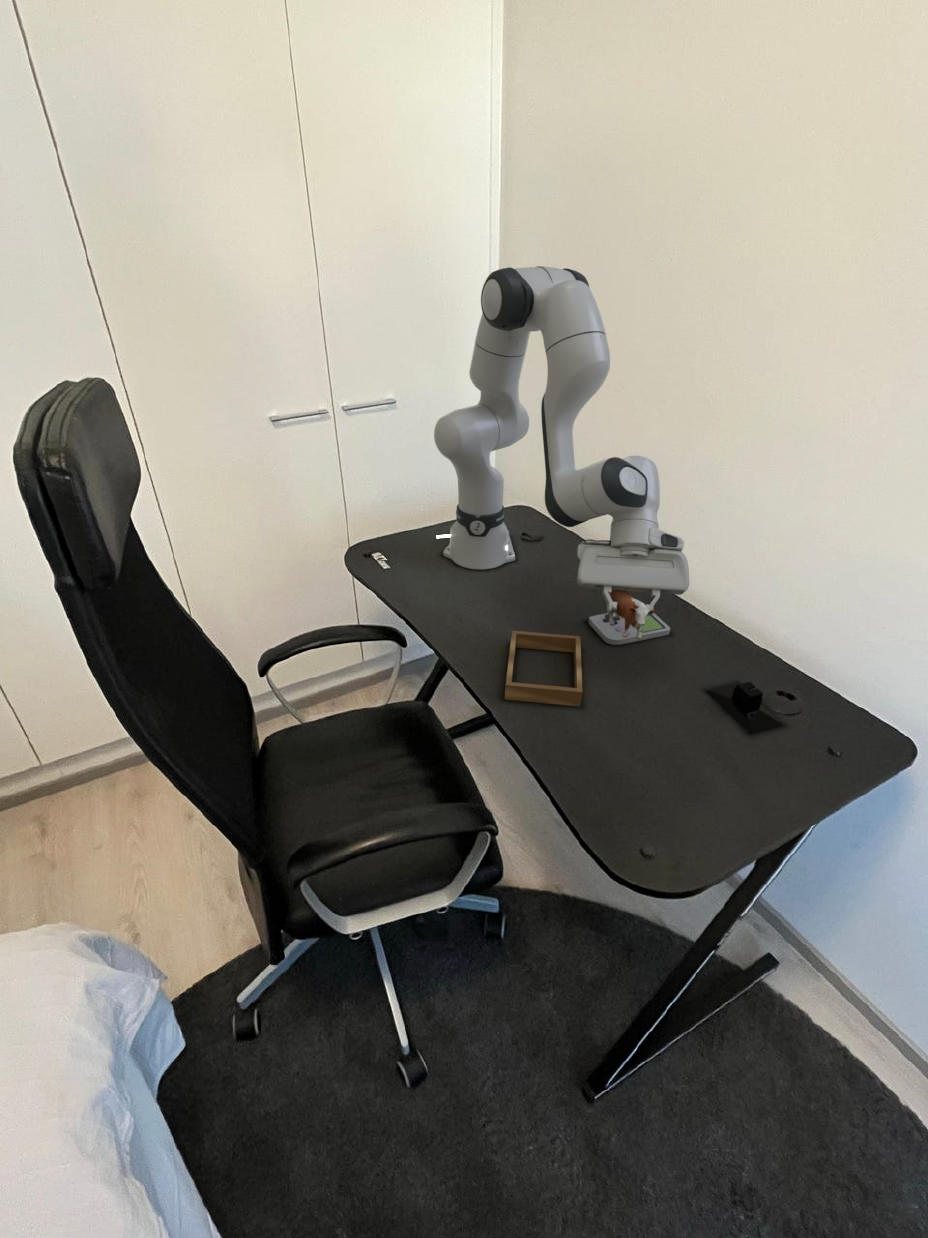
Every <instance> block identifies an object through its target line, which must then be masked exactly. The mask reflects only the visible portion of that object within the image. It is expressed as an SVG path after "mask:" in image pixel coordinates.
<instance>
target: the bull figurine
mask: <svg viewBox="0 0 928 1238" xmlns="http://www.w3.org/2000/svg"><path fill="white" fill-rule="evenodd" d="M610 597H611V599H612V601H613V602H617V606H616V607H617V611H616V613H615V615H616V619H620V617H621V618H624V619H625V630H624V631H623V632H622V633H623V637H625V638H627V637H628V633H627V631H628V629H629V627H630V625H632V627H633V628H637V634H636V636H637V639H642V636H641V632H640V631H641V626H644V625H645V620H646V617H647V615H648V614H652V613H655V612H656V610H655V609H653V610H648V609H647V608H646V606H645V603H644V602H642V601H641V600H638V599H637V598H635V597H634V596H633V595H631V594H630V593H629V591H623V590H612V591H611V593H610ZM606 613H608V604H607V603H606ZM608 614H610V619H609V625H611V626H614V625H615V624H614V620H613V613H608Z"/></svg>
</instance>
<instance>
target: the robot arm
mask: <svg viewBox="0 0 928 1238" xmlns="http://www.w3.org/2000/svg"><path fill="white" fill-rule="evenodd" d="M480 306H481V307H480V308H481V312H482V314H481V317H480V319H479V323H478V326H477V331H476V335H475V340H474V344H473V350H472V355H471V360H470V367H469V371H468V373H469V374H468V375H469V379H470V381H471V383H472V384H473V385H474V387H475V388H476V389H477V390H479V391H480V398H479V401H478V403H477V404H475V405H471V406H465V407H462V408H457V409H454V410H453V411H450V412H449V413H447V414H445V415H443V416H442V417H440V418H439V419H438V420H437V421H436V423H435V425H434V429H433V439H434V443H435V446H436V448H437V450H438V451H439V453H440V454H441V456H443V457H444V458H446V459H447V460H449V461H450V463H451V464H452V466H453V467H454V470H455V473H456V478H457V493H458V495H457V496H458V497H457V499H458V501H457V502H458V504H457V505H456V510H455V515H456V521H455V522H454V523H453V524H452V525H451V526H450V534H440V535H436V539H444V538H449V544H448V545H447V546H446V547H445V548H444V550H443V551H442V556H444V557H445V558H448V559H450V560H451V561H453V563H455V564H456V565H457V566H460V567H462V568H466V569H471V570H489V569H495V568H498V567H500V566H502V565H504V564H506V563H510V562H514V561H516V555H515V551H514V548H513V544H512V539H511V536H510V533H509V530H508V527H507V525H506V522H505V506H504V505H503V504H504V485H505V484H504V483H505V480H504V476H503V475H502V473H501V471H499V470H498V469H497V468H496V467H494V466H492V464H491V460H490V455H491V453H492V452H494V451H498V450H502V449H505V448H508V447H510V446H513V445H514V444H516V443H518V442H519V441H521V440H522V439H524V438H525V437H526V435H527V434H528V432H529V428H530V417H529V413H528V411H527V409H526V407H525V406H524V404H522V403H521V400H520V393H519V391H520V390H519V389H520V388H519V387H520V380H521V375H522V371H523V365H524V360H525V357H526V352H527V349H528V345H529V339H530V335H531V332H539V331H540V332H541V335H542V339H543V346H544V351H545V355H546V357H545V358H546V363H547V364H546V365H547V379H546V386H545V392H544V393H543V396H542V398H541V405H540V406H541V407H540V409H541V410H540V412H541V415H540V416H541V429H542V444H543V454H544V455H543V457H544V468H545V485H544V486H545V487H544V505H545V508H546V511H547V513H548V514H549V516H550V517H551V518H552V519H553V520H554V521H555V522H556V523H558V524H560V526H563V527H566V528H574V527H577V526H578V525H581V524H582V523H585V522H588V521H590V520H593V519H597V518H600V517H603V516H607V515H608V516H611V517H612V520H611V523H610V530H609V539H608V540H606V539H599V540H598V539H592V538H591V539H590V538H587V539H585V540H584V541H581V542H580V543H579V544H578V545H577V548H576V558H577V559H578V561H579V564H578V569H577V576H576V584H577V585H578V587H580V588H582V589H595V590H596V589H597V590H602V597H603V598H604V600H605V603H606V605H607V604H608V613H616V611H617V607H616V606H617V602H613V601H612V599H611V597H610V593H611V591H612V590H623V591H627V592H637V593H649V595H650V599H652V600H651V602H649V604H647V603H646V604H645V603H644V604H645V606H646V608H647V609H648V610H654V606H655V604H657V601H658V600H659V598H661V594H665V595H676V596H677V595H679V596H681V595H683V594H684V593H685V592H686V591H687V590H688V589H689V587H690V567H689V561H688V557H687V556H686V554H685V553H684V552H682V551H683V550H684V547H685V540H684V539H683V538H682V537H679V536H678V535H674V534H672V533H668V532H666V531H664V530H661V529H659V528H660V524H659V521H658V512H659V509H660V502H661V486H660V478H659V477H660V476H659V470H658V468H657V465H656V463H655V462H654V461H653V460H652V459H649V458H648V457H646V456H643V455H629V456H626V457H623V458H621V457H617V456H613V457H609V458H608V457H607V458H605V459H602V460H599V461H595V462H594V463H591V464H589V465H587V466H584V467H581V468H579V469H576V463H575V461H576V460H575V449H574V448H575V447H574V434H573V430H574V424H575V421H576V419H577V417H578V416H579V414H580V412H581V410H582V409H583V408H584V407H585V405H586V404H587V403H588V402H589V401H590V400H591V399H592V398H593V396H594V395H596V394H597V393H598V392H599V390H601V388H602V386H603V385H604V383H605V381H606V380H607V377H608V375H609V373H610V369H611V352H610V347H609V342H608V337H607V332H606V329H605V324H604V321H603V317H602V315H601V312H600V308H599V306H598V303H597V301H596V298H595V296H594V293H593V291H592V289H591V288H590V284H589V282H588V280H587V278H586V276H585V275H583V273H581V272H579V271H577V270H574V269H571V268H565V267H564V268H557V267H553V266H541V265H537V266H527V267H526V266H525V267H518V268H517V267H516V268H514V267H511V266H509V267H503V268H500V269H499V268H498V269H496V270H493V271H492V272H491V273H490V274H489V275H487V277H486V279H485V281H484V283H483V286H482V289H481V293H480ZM652 615H653V613H652V614H648V616H652Z"/></svg>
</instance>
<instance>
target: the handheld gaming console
mask: <svg viewBox="0 0 928 1238" xmlns="http://www.w3.org/2000/svg"><path fill="white" fill-rule="evenodd" d="M609 619H610V614H608V613H607V612H606V613H601V614H596V615H591V616H588V625H589V626H590V627H591V629H593V630H594V631H595V633H597V635H598V636H599V637H600V638H601V640H603V641H604V643H607V644H609V645H613V646H615V645H616V646H618V645H624V644H629V643H630V644H631V643H634V642H641V641H645V640H649V639H654V638H659V637H665V636H669V635H670V632H671V627H670V626H669V625H668V624H667V623H666V622H664V620H662V619H661V618H660V617H659V616H658V615H657V614H656V613H655V612H654V613H653V615H652V616H648V615H647V617H646V620H645V625H644V626H641V631H640V632H641V636H642V639H637V636H636V634H637V628H633V627H632V625H630V627H629V629H628V631H627V633H628V637H627V638H625V637H623V633H622V632H623V631H624V630H625V619H624V618H621V617H620V619H616V615H615V613H613V620H614V624H615V625H614V626H611V625H609Z"/></svg>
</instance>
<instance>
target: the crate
mask: <svg viewBox="0 0 928 1238" xmlns="http://www.w3.org/2000/svg"><path fill="white" fill-rule="evenodd" d="M581 645H582V642H581V636H580V635H569V634H559V633H558V634H556V633H545V632H533V631H521V630H511V637H510V646H509V653H508V662H507V671H506V679H505V688H504V700H506V701H515V702H516V701H517V702H528V703H538V704H548V705H559V706H570V707H581V705H582V699H583V669H582V666H583V665H582V646H581ZM516 648H518V649H531V650H541V651H553V652H564V653H565V652H566V653H573V669H574V670H573V672H574V673H573V675H574V676H573V677H574V683H573V685H574V687H570V686H569V687H567V686H558V685H545V684H535V683H525V682H524V683H523V682H515V681H514V682H513V676H514V675H513V674H514V667H515V658H516Z"/></svg>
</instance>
